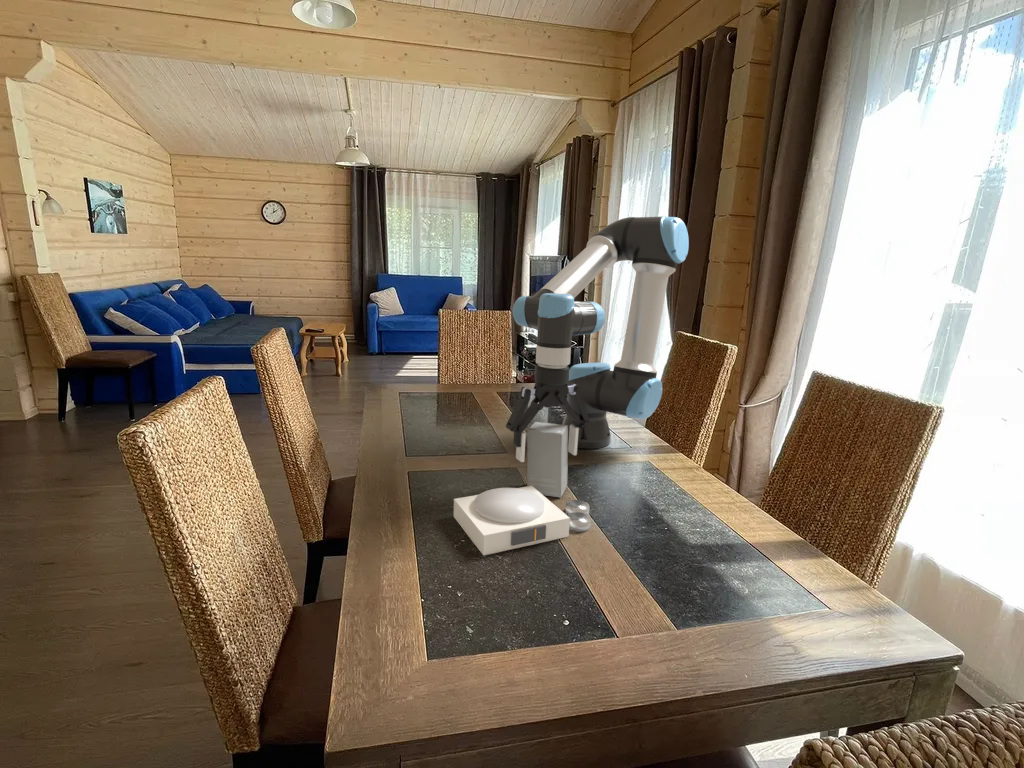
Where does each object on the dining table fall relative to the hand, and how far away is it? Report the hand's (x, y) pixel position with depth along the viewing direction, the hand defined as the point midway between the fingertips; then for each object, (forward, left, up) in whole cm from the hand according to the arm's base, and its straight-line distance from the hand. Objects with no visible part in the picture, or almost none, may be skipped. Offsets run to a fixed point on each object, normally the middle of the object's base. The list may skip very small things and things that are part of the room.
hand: (546, 456), depth 124 cm
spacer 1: (-1, +12, -9) cm, 15 cm away
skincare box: (0, 0, -9) cm, 9 cm away
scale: (+15, +12, -9) cm, 21 cm away
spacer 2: (+2, +17, -9) cm, 19 cm away
